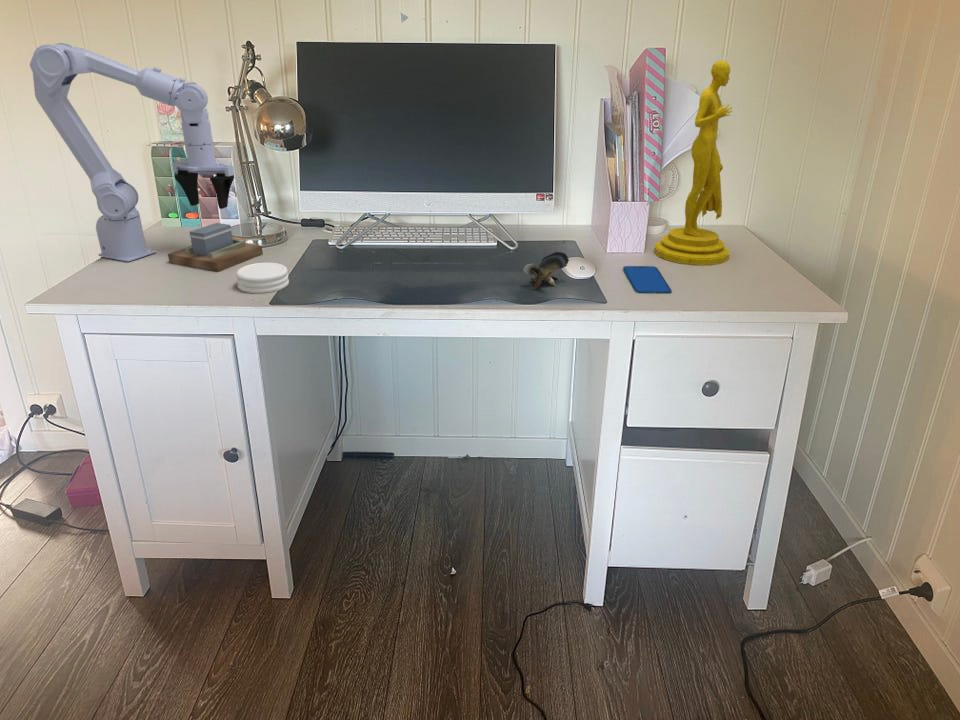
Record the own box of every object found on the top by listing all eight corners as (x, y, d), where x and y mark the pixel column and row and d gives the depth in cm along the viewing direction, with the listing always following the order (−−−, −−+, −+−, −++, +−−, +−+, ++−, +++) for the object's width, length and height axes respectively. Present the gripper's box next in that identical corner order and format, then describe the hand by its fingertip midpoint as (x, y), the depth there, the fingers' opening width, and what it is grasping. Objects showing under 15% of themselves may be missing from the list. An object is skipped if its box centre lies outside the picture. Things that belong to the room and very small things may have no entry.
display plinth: (169, 262, 154) (166, 249, 153) (216, 246, 166) (214, 233, 165) (218, 271, 149) (215, 258, 148) (262, 254, 161) (261, 241, 159)
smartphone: (635, 291, 139) (622, 266, 152) (635, 296, 140) (621, 270, 153) (673, 291, 139) (656, 266, 152) (672, 296, 140) (655, 270, 153)
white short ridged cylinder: (230, 284, 143) (228, 267, 142) (277, 274, 149) (275, 258, 147) (249, 298, 136) (246, 281, 134) (297, 287, 141) (295, 271, 140)
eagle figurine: (562, 289, 138) (577, 268, 144) (542, 259, 136) (558, 239, 142) (532, 302, 143) (548, 281, 149) (513, 273, 141) (530, 253, 147)
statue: (719, 270, 153) (753, 63, 135) (644, 257, 160) (666, 60, 142) (736, 250, 166) (768, 60, 148) (665, 239, 173) (688, 57, 155)
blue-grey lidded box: (193, 254, 154) (189, 231, 151) (220, 244, 160) (216, 222, 158) (207, 256, 152) (203, 233, 150) (234, 246, 159) (230, 224, 157)
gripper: (158, 144, 151) (170, 207, 156) (215, 148, 146) (225, 213, 152) (180, 139, 157) (191, 200, 163) (236, 143, 153) (244, 205, 158)
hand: (209, 206), depth 158 cm, fingers open, 7 cm apart
